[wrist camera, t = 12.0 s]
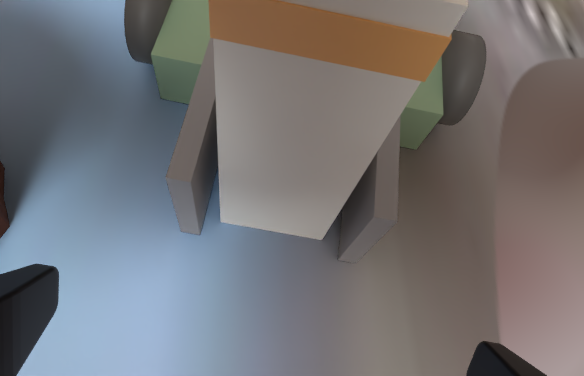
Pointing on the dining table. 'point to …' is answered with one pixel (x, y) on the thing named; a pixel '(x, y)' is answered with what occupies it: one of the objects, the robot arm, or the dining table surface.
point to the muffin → (3, 204)
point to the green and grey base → (203, 125)
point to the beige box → (313, 99)
